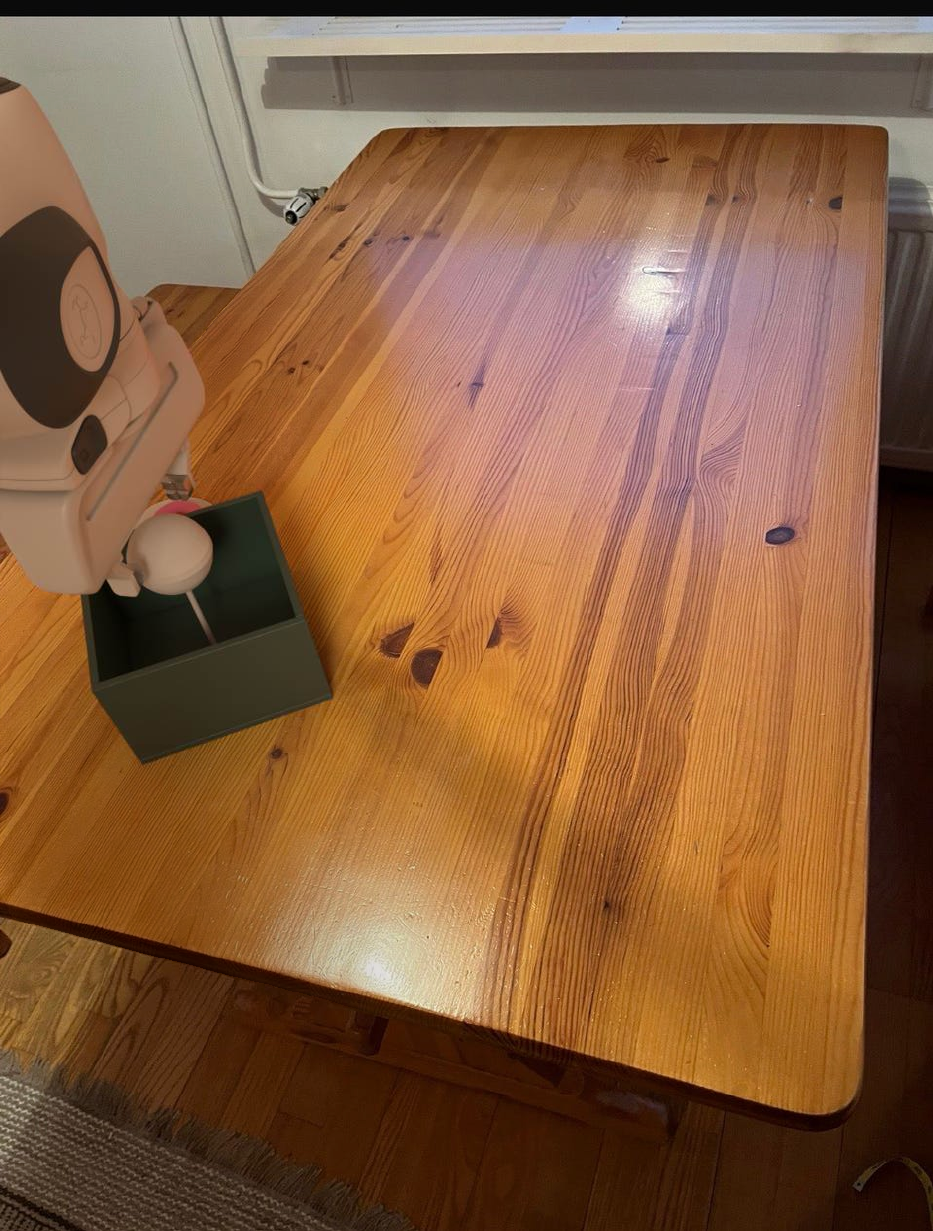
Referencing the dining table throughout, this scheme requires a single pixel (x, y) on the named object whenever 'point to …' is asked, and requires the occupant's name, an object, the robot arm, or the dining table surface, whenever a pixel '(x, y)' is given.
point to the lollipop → (173, 557)
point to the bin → (206, 642)
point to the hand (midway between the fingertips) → (158, 539)
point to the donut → (173, 508)
